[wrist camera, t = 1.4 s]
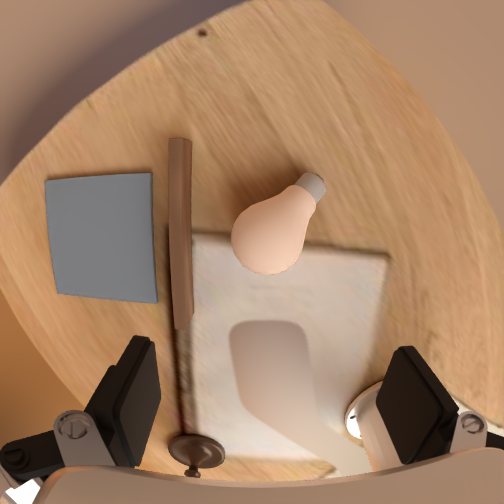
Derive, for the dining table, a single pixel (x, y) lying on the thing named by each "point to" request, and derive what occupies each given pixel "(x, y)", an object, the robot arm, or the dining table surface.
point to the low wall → (180, 230)
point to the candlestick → (196, 452)
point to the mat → (103, 236)
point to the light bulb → (277, 226)
